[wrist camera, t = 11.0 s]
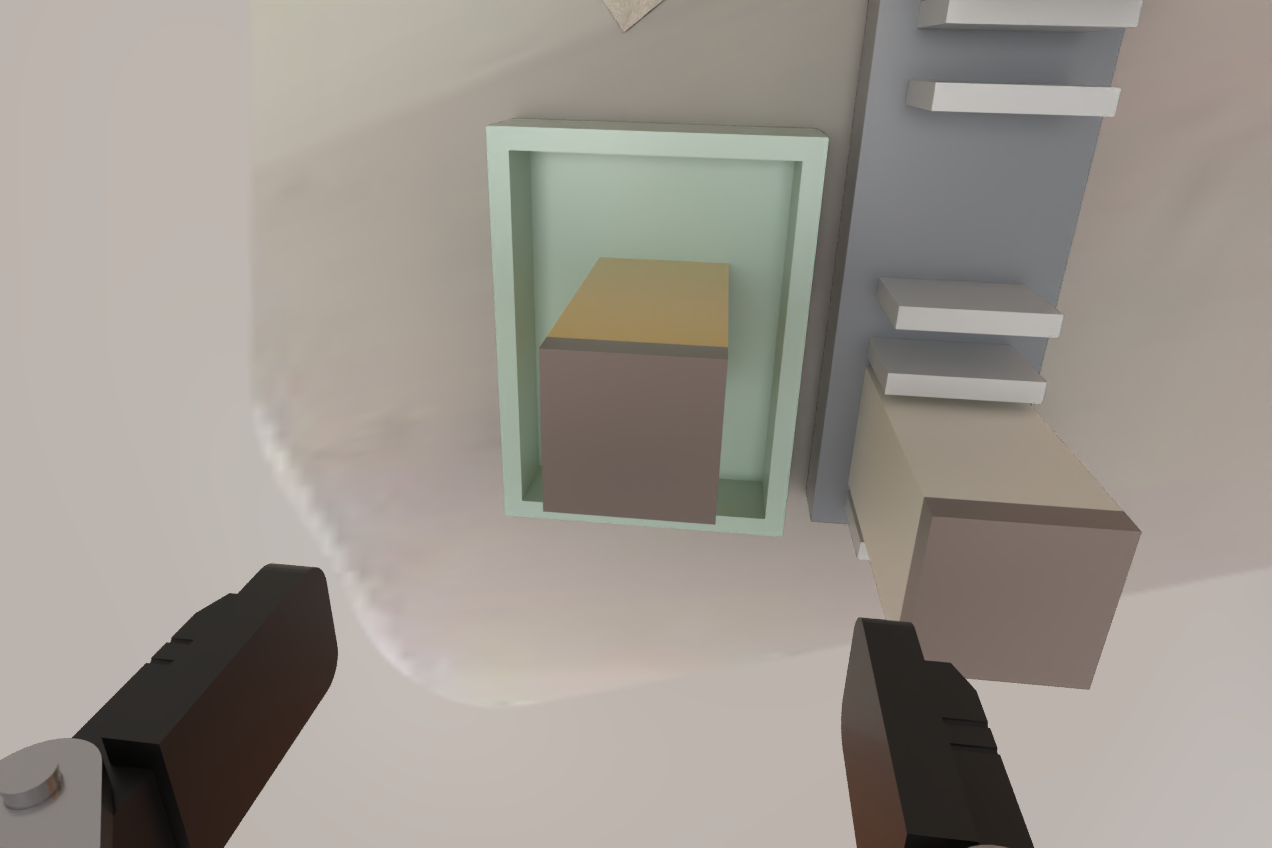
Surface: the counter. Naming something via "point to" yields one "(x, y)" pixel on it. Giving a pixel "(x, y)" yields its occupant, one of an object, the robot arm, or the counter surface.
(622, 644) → the counter surface
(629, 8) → the condiment
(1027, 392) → the rail
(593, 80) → the counter surface
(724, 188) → the tray
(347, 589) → the counter surface
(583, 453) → the block
